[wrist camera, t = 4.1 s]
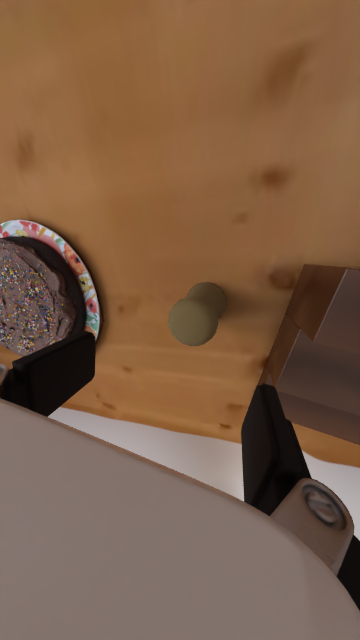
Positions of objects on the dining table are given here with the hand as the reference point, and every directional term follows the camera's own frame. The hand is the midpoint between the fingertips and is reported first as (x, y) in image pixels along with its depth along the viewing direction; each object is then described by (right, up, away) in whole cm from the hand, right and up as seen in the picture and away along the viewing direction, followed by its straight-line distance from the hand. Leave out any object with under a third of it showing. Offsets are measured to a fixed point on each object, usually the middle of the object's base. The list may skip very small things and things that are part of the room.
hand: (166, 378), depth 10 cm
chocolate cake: (-26, +7, +27) cm, 38 cm away
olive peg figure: (+5, +6, +18) cm, 20 cm away
